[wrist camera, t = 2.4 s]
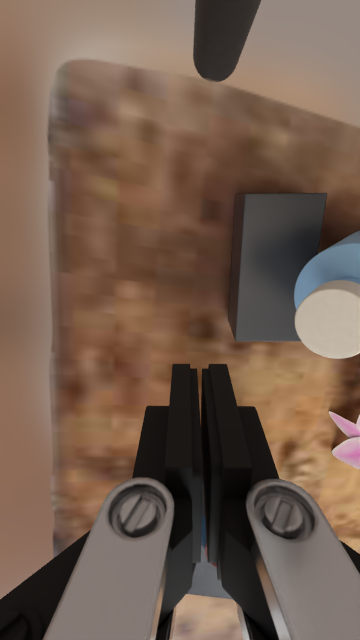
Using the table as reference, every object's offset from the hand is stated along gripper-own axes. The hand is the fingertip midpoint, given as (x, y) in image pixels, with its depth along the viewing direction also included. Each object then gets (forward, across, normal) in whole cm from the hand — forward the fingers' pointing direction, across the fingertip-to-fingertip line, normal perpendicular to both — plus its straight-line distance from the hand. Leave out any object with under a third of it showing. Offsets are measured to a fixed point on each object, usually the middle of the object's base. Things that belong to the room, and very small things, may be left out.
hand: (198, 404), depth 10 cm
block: (+21, -7, -1) cm, 22 cm away
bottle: (+21, -12, -1) cm, 24 cm away
